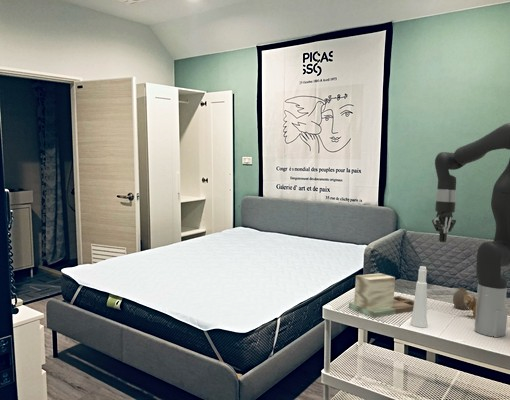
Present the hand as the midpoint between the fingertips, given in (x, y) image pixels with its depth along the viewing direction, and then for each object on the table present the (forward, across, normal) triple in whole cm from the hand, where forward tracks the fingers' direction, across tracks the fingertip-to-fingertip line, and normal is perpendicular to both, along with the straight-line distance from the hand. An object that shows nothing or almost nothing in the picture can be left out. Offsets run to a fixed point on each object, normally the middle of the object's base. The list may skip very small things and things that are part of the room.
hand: (442, 241), depth 184 cm
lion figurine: (+29, +6, -15) cm, 33 cm away
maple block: (+27, -27, +10) cm, 39 cm away
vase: (+29, +13, -2) cm, 32 cm away
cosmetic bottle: (+29, -24, -10) cm, 39 cm away
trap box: (+29, -19, +10) cm, 36 cm away
